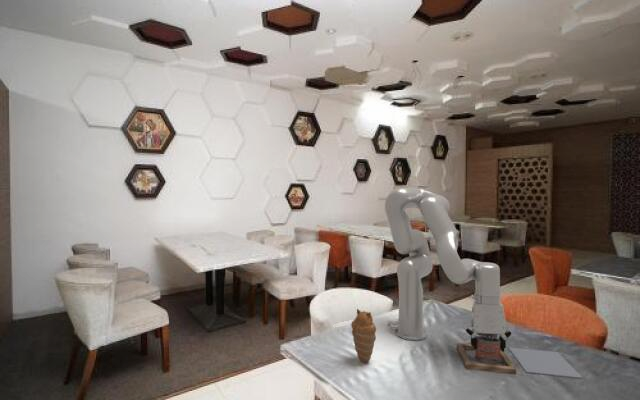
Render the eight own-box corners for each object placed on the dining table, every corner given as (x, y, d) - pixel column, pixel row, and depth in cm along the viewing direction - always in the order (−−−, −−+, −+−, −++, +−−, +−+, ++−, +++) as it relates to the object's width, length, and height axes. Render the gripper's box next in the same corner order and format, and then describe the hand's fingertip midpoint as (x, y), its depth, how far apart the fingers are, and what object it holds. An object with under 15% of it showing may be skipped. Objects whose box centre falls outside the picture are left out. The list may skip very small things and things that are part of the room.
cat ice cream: (347, 362, 112) (347, 310, 111) (359, 352, 118) (359, 304, 117) (370, 371, 106) (370, 317, 105) (381, 360, 113) (381, 309, 112)
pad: (526, 372, 105) (526, 371, 105) (508, 348, 121) (508, 347, 121) (582, 378, 102) (582, 377, 102) (556, 353, 118) (557, 351, 118)
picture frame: (466, 368, 108) (466, 364, 108) (457, 346, 122) (457, 342, 122) (516, 374, 104) (516, 369, 104) (500, 350, 119) (500, 346, 119)
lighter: (499, 359, 113) (500, 331, 113) (501, 364, 110) (501, 336, 109) (474, 355, 116) (474, 328, 115) (475, 360, 113) (475, 332, 112)
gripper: (463, 301, 110) (463, 352, 111) (519, 303, 107) (520, 356, 107) (458, 294, 117) (458, 341, 118) (511, 296, 114) (511, 345, 114)
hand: (488, 348), depth 112 cm, fingers closed on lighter, 8 cm apart
